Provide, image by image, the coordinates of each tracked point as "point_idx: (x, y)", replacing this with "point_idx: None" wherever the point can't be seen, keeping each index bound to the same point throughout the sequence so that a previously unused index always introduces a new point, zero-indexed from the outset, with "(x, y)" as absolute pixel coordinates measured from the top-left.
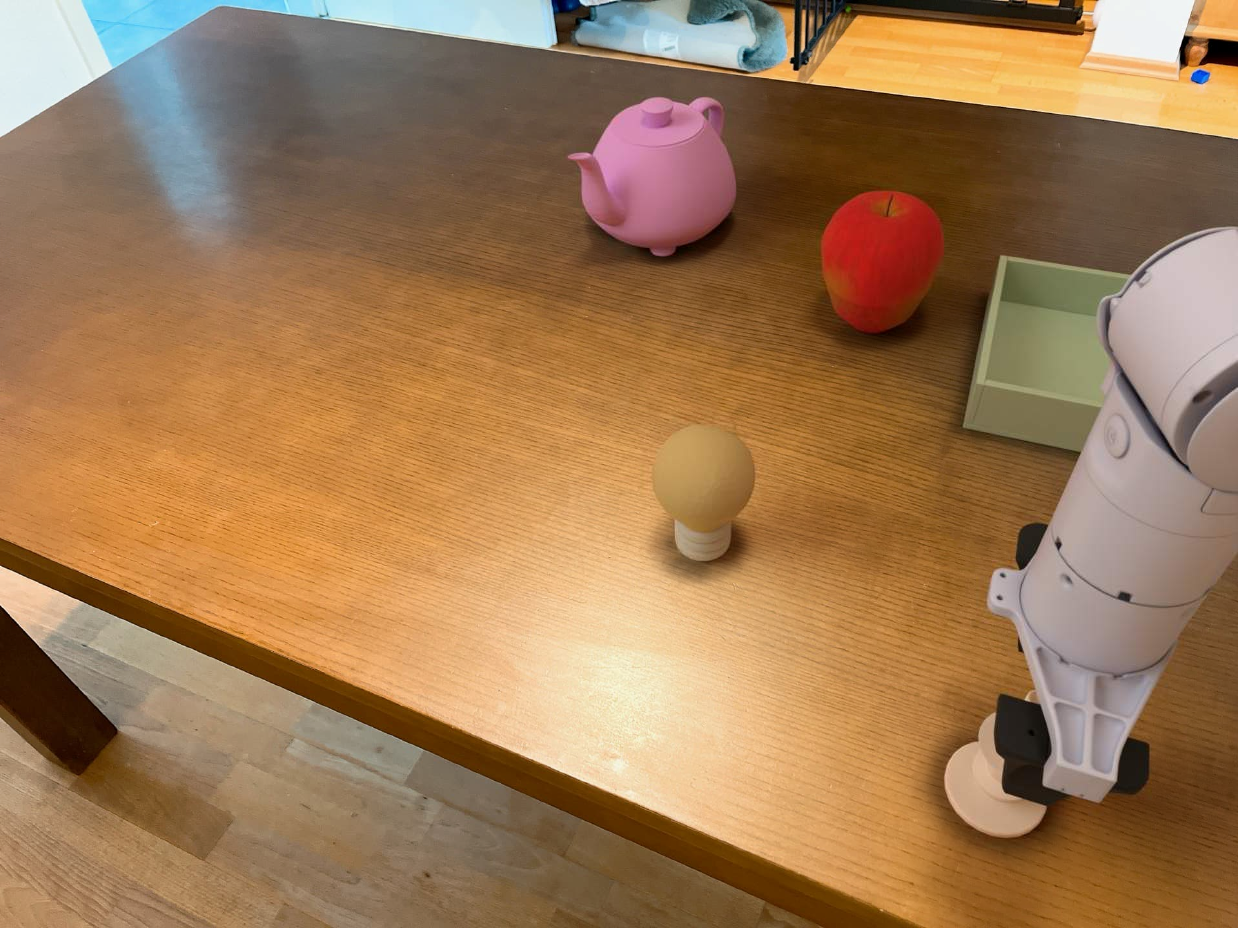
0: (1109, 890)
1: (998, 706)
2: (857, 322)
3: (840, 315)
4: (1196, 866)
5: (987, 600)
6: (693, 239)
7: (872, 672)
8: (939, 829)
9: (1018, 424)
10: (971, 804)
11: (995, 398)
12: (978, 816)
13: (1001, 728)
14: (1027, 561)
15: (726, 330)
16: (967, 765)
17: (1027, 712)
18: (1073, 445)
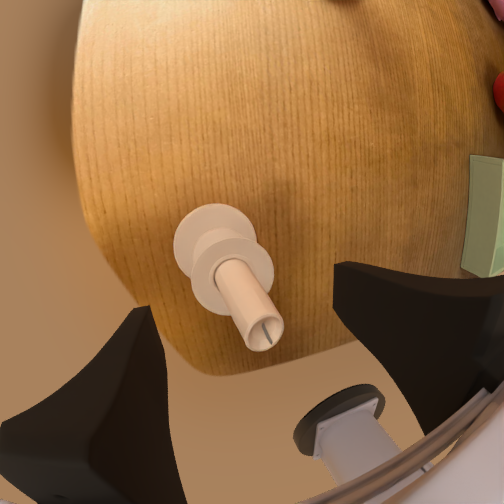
0: (181, 331)
1: (50, 459)
2: (500, 85)
3: (499, 76)
4: (226, 364)
5: (485, 454)
6: (492, 4)
7: (279, 117)
8: (158, 216)
9: (479, 189)
10: (189, 234)
11: (494, 173)
12: (181, 242)
13: (10, 463)
14: (490, 315)
15: (465, 13)
16: (222, 220)
17: (95, 496)
18: (470, 222)
